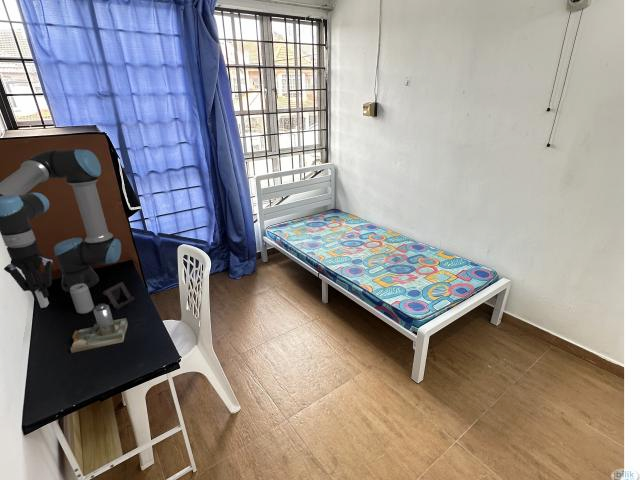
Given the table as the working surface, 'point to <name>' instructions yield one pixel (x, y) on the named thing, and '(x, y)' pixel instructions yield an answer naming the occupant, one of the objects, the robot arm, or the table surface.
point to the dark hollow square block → (115, 293)
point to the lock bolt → (80, 335)
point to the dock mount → (101, 337)
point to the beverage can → (81, 298)
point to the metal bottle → (104, 319)
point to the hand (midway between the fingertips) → (45, 305)
